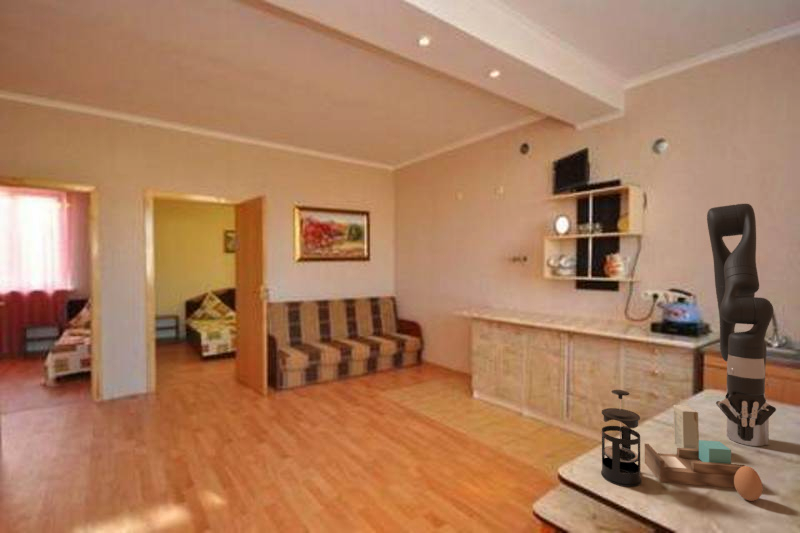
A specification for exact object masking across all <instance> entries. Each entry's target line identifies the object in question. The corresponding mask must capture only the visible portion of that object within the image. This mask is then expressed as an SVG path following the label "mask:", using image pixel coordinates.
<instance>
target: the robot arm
mask: <svg viewBox="0 0 800 533" xmlns="http://www.w3.org/2000/svg"><path fill="white" fill-rule="evenodd" d="M706 221H707V230H708V237H709V240H710V247H711V253H712V258H713V259H712V260H713V272H714V284H715V285H714V286H715V294H716V299H717V300H716V301H717V306H718V307H717V308H718V317H719V319H718V320H719V347H720V348H719V349H720V350H719V351H720V354H721V358H722V359H723V361H725V362H726V394H725V396H724V397H725V398H724V399H723V400H717V401H716V402H715V404H716V406H717V407H718V408H719V409H720V411H721V412H722V413H723V414H724V416H726V437H727V438H728V439H729V440H731V441H733V442H735V443H738V444H741V445H746V446H751V447H764V446H769V444H770V443H769V442H770V441H769V440H770V438H769V436H770V434H769V432H770V431H769V427H770V426H769V422H770V421H769V418H770V417H771V416H773V414H774V413H775V412H776V411H777V408H776V407H775V406H773V405H771V404H769V403H768V402H767V400H766V364H767V344H766V343H767V342H766V341H765V337H766V334H767V331H768V328H769V326H770V323H771V321H772V318H773V315H774V306H773V304H772V303H771V301H770V300H769V299H767V298H765V297H757V296H755V295H756V293H758V291H759V289H760V281H759V275H758V269H757V258H756V257H757V224H756V223H757V221H756V214H755V210H754V208H753V205H751V204H750V203H737V204H729V205H723V206H715V207H711V208H709V209H708V211H707V214H706ZM741 235H742V237H741V239H740V241H739V243H737V245H736V247H734V249H733V250H732V251H731V250H729V248H728V247H727V245H726V243H725V241H724V239H723V238H725V237H732V236H733V237H734V236H741ZM737 324H740V325H741V324H743V325H752V327H751V329H749V330H746V331H739V332H737V331H735V329H736V328H735V327H736V325H737Z"/></svg>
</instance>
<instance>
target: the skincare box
mask: <svg viewBox="0 0 800 533" xmlns="http://www.w3.org/2000/svg"><path fill="white" fill-rule="evenodd" d="M699 431H700V430H699V412H698V411H697V410H696V409H694V408H693V407H691V406H689V405H680V404H679V405H678V404H673V436H674V437H673V439H674V445H675V446H677V448H688V449H699V440H700V438H699Z"/></svg>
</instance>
